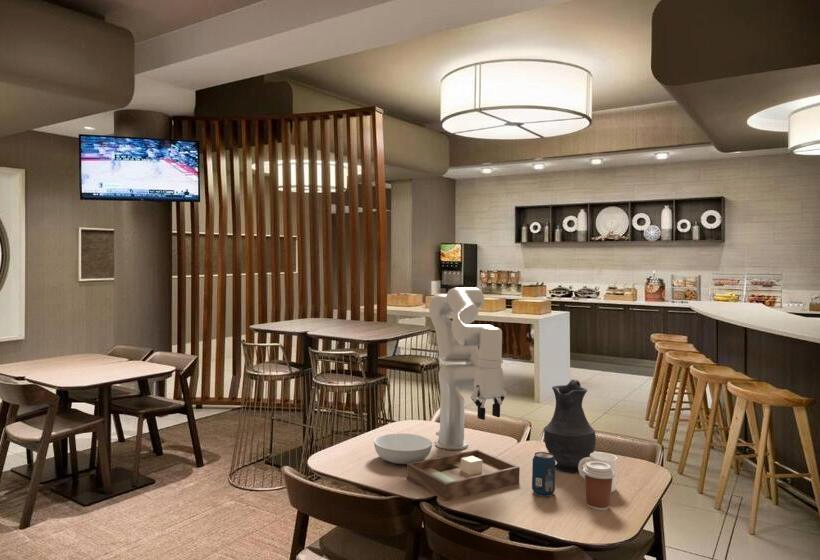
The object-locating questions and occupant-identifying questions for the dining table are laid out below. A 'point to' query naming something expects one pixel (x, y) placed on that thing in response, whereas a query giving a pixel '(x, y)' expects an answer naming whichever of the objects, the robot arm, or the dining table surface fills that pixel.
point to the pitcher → (569, 429)
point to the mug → (603, 458)
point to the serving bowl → (402, 447)
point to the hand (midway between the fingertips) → (488, 417)
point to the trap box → (461, 475)
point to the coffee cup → (598, 484)
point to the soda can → (543, 474)
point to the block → (471, 465)
